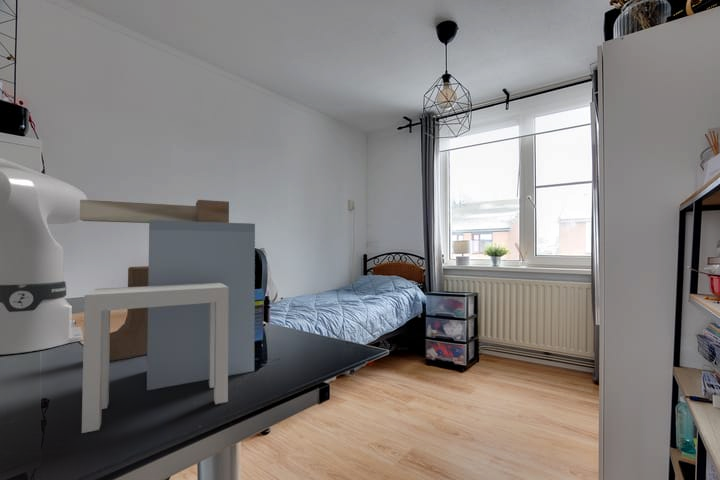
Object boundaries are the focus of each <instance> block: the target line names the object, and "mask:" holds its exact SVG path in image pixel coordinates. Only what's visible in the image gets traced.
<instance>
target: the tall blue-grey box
mask: <svg viewBox="0 0 720 480" xmlns="http://www.w3.org/2000/svg"><path fill="white" fill-rule="evenodd" d="M148 228H149V229H148V266H149V274H148V286H164V285H184V284H205V283H222V284H224V285H226V286H227V287H229V296H228V377H229V376H235V375H240V374H246V373H252V372H255V342H254V323H255V288H256V287H255V284H256V282H255V280H256V275H255V272H256V271H255V270H256V264H255V263H256V261H255V260H256V257H255V256H256V248H255V247H256V241H255V240H256V224H255V223H250V222H249V223H245V222H243V223H242V222H229V223H221V222H193V221H164V220H149V223H148ZM209 308H210V303H200V304H186V305H173V306H160V307H148V342H147V355H146V357H147V359H146V361H147V362H146V391H151V390H157V389H161V388H167V387H172V386H179V385H183V384H190V383H196V382H201V381H207V380H209Z"/></svg>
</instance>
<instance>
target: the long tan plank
mask: <svg viewBox="0 0 720 480" xmlns="http://www.w3.org/2000/svg"><path fill="white" fill-rule="evenodd" d="M229 217H230V202H229V201H223V200H211V199H197V201H196V202H195V205H181V204H169V203H167V204H165V203H164V204H163V203H162V204H161V203H148V202H145V203H144V202H132V201H130V202H128V201H113V200H112V201H111V200H95V199H93V200H92V199H87V200H80V219H79V220H80V221H83V222H102V223H103V222H104V223H105V222H106V223H107V222H108V223H131V224H133V223H134V224H135V223H136V224H137V223H139V224H149V220H164V221H193V222H221V223H230V218H229Z"/></svg>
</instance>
